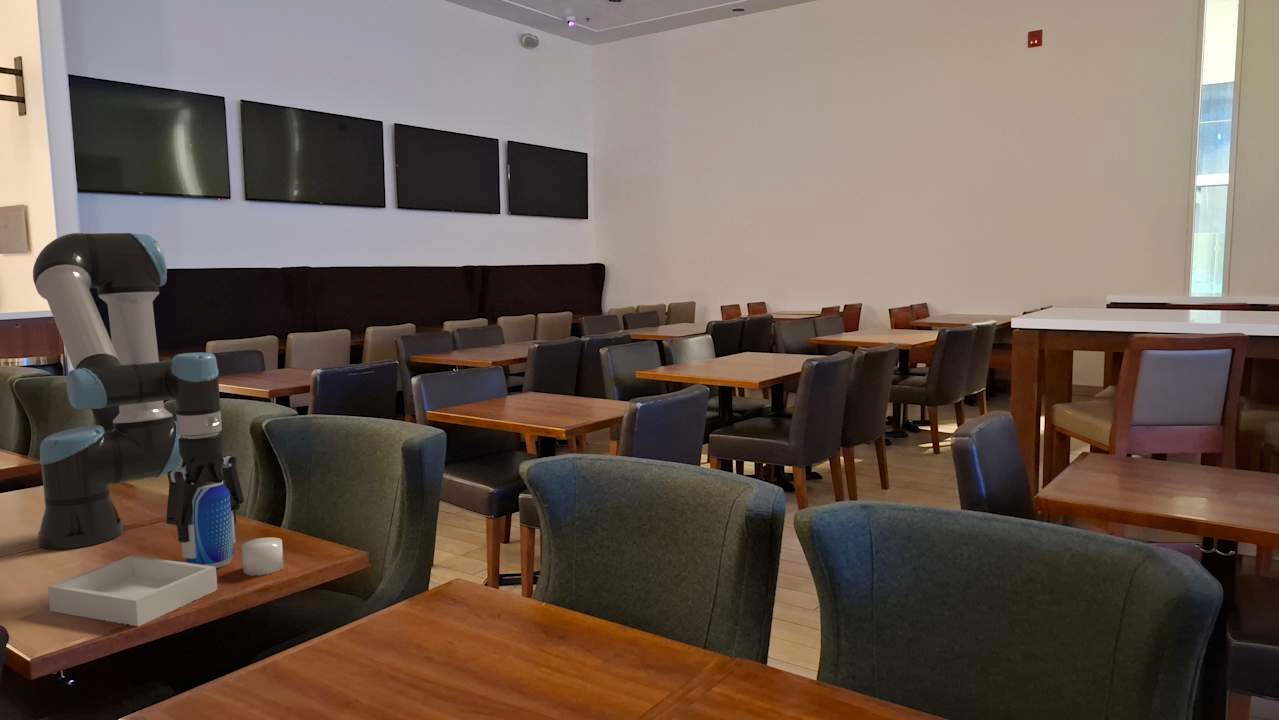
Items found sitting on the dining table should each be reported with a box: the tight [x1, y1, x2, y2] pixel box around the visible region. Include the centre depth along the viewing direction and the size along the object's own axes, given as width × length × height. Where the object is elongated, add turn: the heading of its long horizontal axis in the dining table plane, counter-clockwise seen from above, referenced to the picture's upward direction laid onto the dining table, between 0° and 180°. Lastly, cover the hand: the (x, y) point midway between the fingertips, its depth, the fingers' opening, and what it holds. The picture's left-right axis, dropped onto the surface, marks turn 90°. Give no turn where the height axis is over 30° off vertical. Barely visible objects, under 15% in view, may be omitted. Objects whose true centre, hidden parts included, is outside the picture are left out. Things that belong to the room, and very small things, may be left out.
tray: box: [47, 554, 218, 627], centre depth 150 cm, size 20×16×4 cm
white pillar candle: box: [241, 536, 285, 576], centre depth 164 cm, size 7×7×5 cm
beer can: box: [183, 481, 235, 569], centre depth 166 cm, size 8×8×16 cm
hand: (209, 549), depth 167 cm, fingers closed on beer can, 8 cm apart
